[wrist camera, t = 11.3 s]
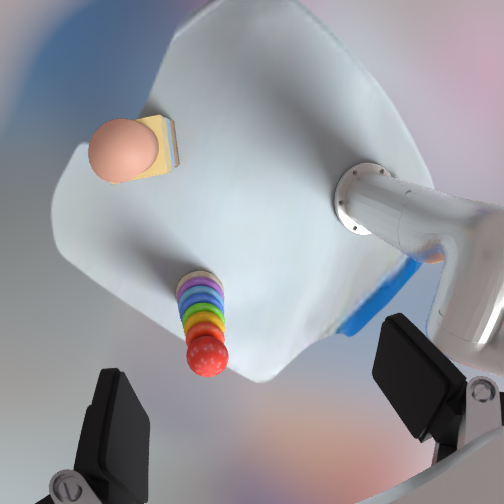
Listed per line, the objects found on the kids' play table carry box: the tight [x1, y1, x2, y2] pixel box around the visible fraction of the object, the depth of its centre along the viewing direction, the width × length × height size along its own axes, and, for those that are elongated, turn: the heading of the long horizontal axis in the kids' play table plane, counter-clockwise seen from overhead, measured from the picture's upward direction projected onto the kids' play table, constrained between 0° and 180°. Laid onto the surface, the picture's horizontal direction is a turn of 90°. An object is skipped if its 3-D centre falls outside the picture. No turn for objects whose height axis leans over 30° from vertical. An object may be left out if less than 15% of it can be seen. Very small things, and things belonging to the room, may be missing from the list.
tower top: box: [111, 115, 172, 184], centre depth 27 cm, size 6×6×5 cm
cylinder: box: [88, 119, 159, 183], centre depth 22 cm, size 5×5×6 cm
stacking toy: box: [176, 271, 228, 377], centre depth 40 cm, size 8×8×19 cm
